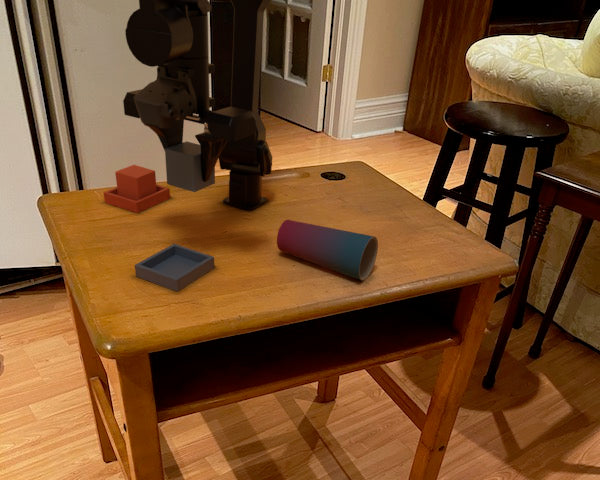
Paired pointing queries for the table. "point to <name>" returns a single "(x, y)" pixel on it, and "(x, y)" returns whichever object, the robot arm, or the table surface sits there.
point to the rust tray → (141, 204)
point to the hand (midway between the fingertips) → (190, 176)
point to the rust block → (135, 182)
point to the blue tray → (174, 267)
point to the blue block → (186, 167)
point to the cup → (329, 247)
